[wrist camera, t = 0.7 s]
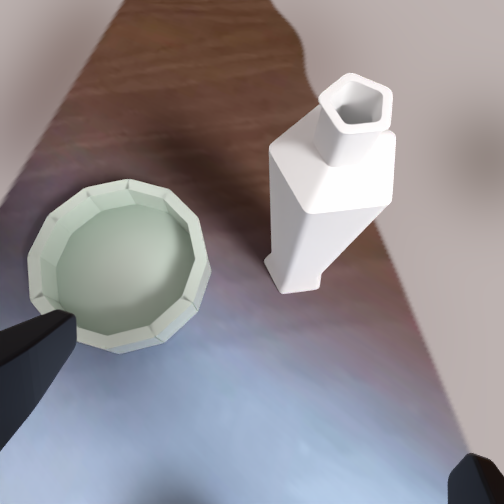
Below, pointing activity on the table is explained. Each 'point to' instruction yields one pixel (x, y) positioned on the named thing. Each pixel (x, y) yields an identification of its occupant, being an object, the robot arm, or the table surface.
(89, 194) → the ring dish
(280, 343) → the table surface
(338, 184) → the white faceted vase
